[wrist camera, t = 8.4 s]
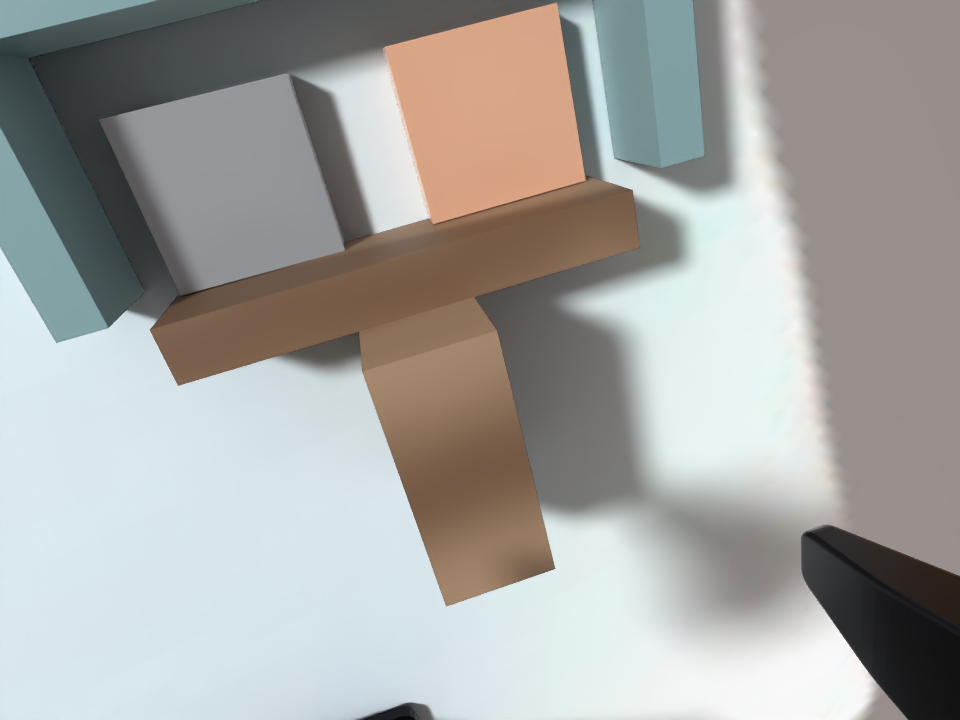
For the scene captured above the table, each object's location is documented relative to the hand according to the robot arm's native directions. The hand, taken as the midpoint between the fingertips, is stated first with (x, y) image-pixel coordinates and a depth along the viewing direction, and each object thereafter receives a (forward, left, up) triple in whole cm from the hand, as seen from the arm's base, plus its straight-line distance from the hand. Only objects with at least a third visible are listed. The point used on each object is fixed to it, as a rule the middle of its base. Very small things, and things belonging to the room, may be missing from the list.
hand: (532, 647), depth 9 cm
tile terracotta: (+6, -3, -12) cm, 14 cm away
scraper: (-1, 0, -12) cm, 12 cm away
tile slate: (+6, +4, -12) cm, 14 cm away
